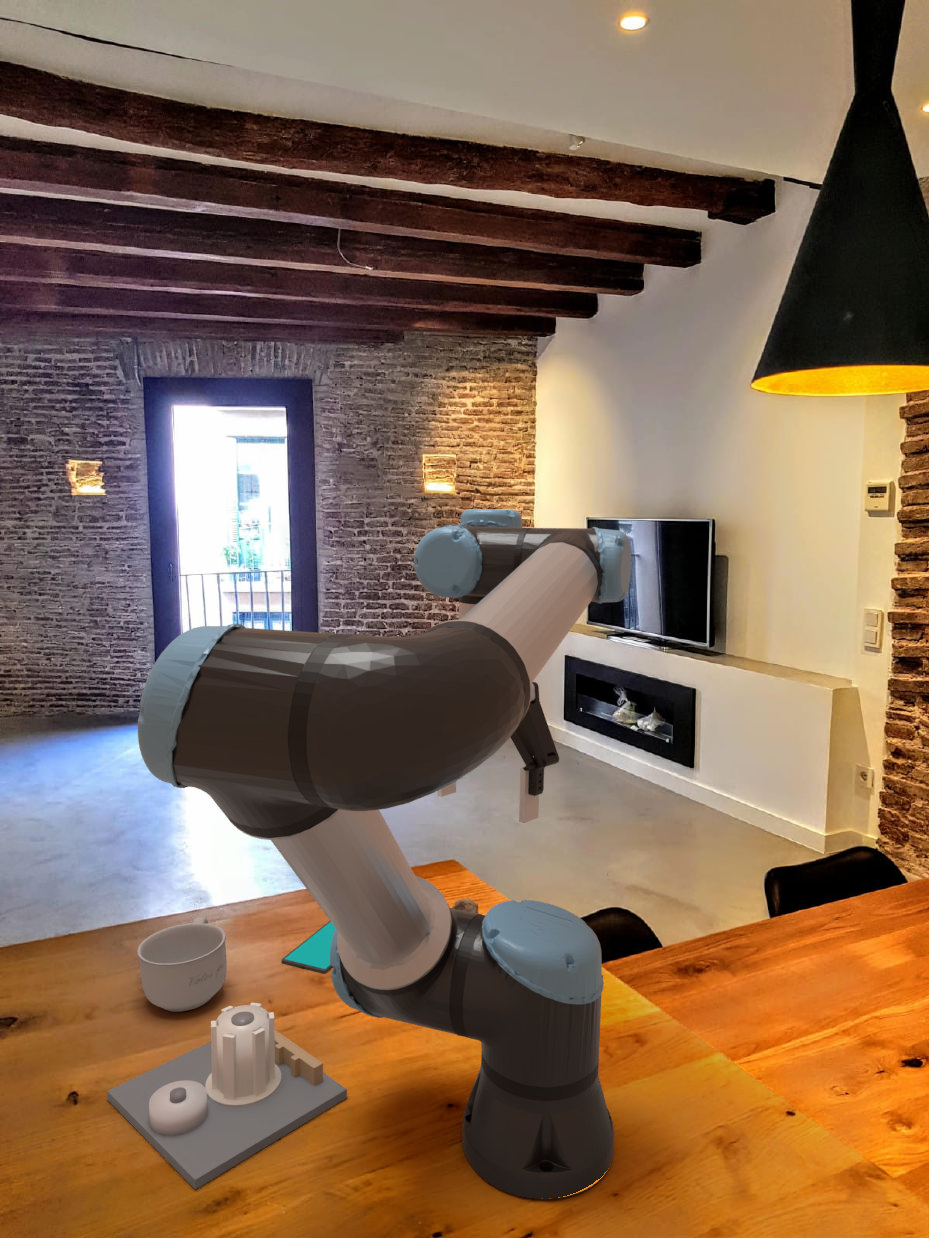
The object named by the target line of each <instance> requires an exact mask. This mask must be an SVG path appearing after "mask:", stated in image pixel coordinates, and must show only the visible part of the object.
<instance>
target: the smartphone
mask: <svg viewBox="0 0 929 1238" xmlns="http://www.w3.org/2000/svg"><path fill="white" fill-rule="evenodd" d="M334 931H335V927H334V925H333V924H332V922H331V921H330V920H329V921H328V922H327V923H325V924H324V925H323V926H322V927H320V928H319V929H317V930H316V931H315V932H314V933H313V934H311V935H310V936H309V937H308V938H306V939H305V940H304V941H303V942H301V943H300V944H299V945H298V946H296V947H295V948H294V949H293V950H292V951H290V952H289V953H287V954H286V955H285V956H284V957H283V958H281V964H283V965H287V966H290V967H294V968H298V969H301V968H302V969H304V970H307V971H311V972H313V973H318V974H321V975H326V974H327V973H329V972H330V971H331V970H333V966H331V965H330V948H331V942H332V938H333V934H334Z"/></svg>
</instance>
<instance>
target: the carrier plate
mask: <svg viewBox="0 0 929 1238" xmlns="http://www.w3.org/2000/svg"><path fill="white" fill-rule="evenodd" d="M323 1065H324V1064H323V1062H322V1061H321V1060H318V1058H316V1057H314V1056H313V1055H312V1054H311V1053H308V1051H306V1050H305V1049H303V1048H301V1047H300V1046H299V1045H297V1044H296V1043H294V1042H293V1041H291V1040H290V1039H289V1038H287V1037H286V1036H284V1035H283V1034H282V1033H280V1032H279V1031H277V1030H276V1029H275V1078H273V1079H270V1080H269V1082H268V1084H267V1085H266V1091H265V1092H264V1093H262V1094H260V1095H258V1096H255V1095H254V1094H252V1095H249V1096H244V1097H236V1099H235V1100H229V1099H224V1094H223V1093H221V1092H220V1091H219V1089H218V1088H214V1089H212V1057H211V1041H209V1042H207V1043H205V1044H203V1045H200V1046H199V1047H198V1046H197V1048H195V1049H194V1048H193V1049H192V1050H191V1051H188V1052H186V1053H184V1054H182V1055H180V1056H178V1057H176V1058H173V1059H171V1060H169V1061H167V1062H165V1063H163V1064H161V1065H159V1066H157V1067H154V1068H152V1069H150V1070H148V1071H146V1072H144V1073H142V1074H140V1075H138V1076H136V1077H133V1078H132V1079H129V1080H128V1081H125V1082H123V1083H121V1084H118V1085H117V1086H115V1087H113V1088H111V1089H110V1088H109V1090H107V1092H106V1094H107V1095H106V1096H107V1098H106V1099H107V1101H108V1102H109V1103H110V1104H111V1105H112V1106H113V1107H114V1108H115V1109H116V1110H117V1111H118V1112H119V1113H120V1114H121V1115H122V1117H124V1118H125V1119H126V1120H127V1121H128V1123H130V1124H131V1125H132V1127H133V1128H134V1129H135V1130H137V1132H138V1133H139V1134H140V1135H142V1136H143V1137H144V1139H145V1140H146V1141H147V1142H148V1143H149V1144H150V1145H151V1146H152V1147H153V1148H154V1149H155V1150H156V1151H157V1152H158V1153H159V1154H160V1155H161V1157H162V1158H164V1160H165V1161H167V1162H168V1164H169V1165H170V1166H172V1168H174V1170H175V1171H177V1173H178V1174H179V1175H180V1176H181V1177H182V1178H183V1179H184V1180H185V1181H186V1182H187V1184H189V1185H190V1186H191V1187H192V1188H193V1189H194V1190H198V1189H199V1188H201V1187H202V1186H204V1185H206V1184H207V1183H209V1182H211V1181H213V1180H214V1179H216V1178H217V1177H218V1176H220V1175H223V1174H224V1173H225V1172H227V1171H228V1170H230V1169H232V1168H234V1167H235V1166H237V1165H238V1164H240V1163H242V1162H243V1161H246V1160H247V1159H249V1158H250V1157H251V1156H254V1155H255V1154H257V1153H259V1152H260V1151H262V1150H263V1149H265V1148H267V1147H268V1146H270V1145H272V1144H273V1143H274V1142H277V1141H278V1140H279V1139H282V1138H283V1137H284V1136H286V1135H288V1134H289V1133H291V1132H293V1131H295V1130H296V1129H298V1128H300V1127H301V1126H303V1125H304V1124H306V1123H308V1122H309V1121H311V1120H312V1119H314V1118H316V1117H318V1116H320V1115H322V1114H323V1113H324V1112H325V1111H327V1110H329V1109H331V1108H332V1107H335V1106H336V1105H337V1104H339V1103H340V1102H342V1101H344V1100H345V1099H347V1098H348V1089H347V1088H346V1087H344V1086H343V1085H341V1084H340V1083H339V1082H338V1081H336V1080H335V1079H333V1078H332V1077H331V1076H329V1075H327V1074H326V1073H324V1071H323V1070H324V1066H323Z"/></svg>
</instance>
